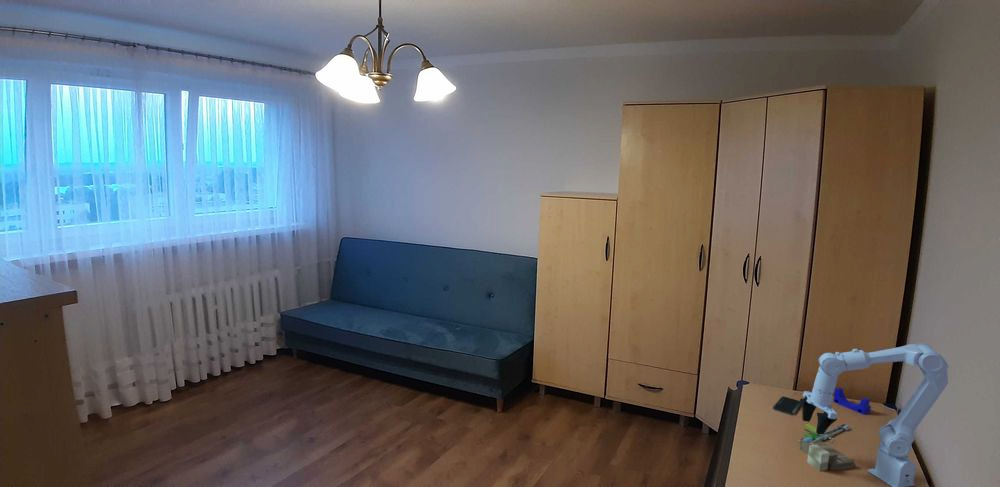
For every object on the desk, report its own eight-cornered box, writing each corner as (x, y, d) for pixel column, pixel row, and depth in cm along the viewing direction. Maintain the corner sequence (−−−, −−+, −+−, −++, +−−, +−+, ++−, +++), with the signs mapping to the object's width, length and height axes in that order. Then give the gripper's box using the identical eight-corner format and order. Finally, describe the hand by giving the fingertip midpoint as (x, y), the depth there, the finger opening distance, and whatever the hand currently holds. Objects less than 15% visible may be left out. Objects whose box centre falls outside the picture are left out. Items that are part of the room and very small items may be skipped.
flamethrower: (784, 437, 189) (813, 452, 180) (786, 431, 188) (814, 445, 180) (827, 420, 204) (855, 433, 196) (828, 414, 204) (856, 427, 195)
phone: (803, 402, 217) (793, 414, 206) (802, 404, 217) (793, 416, 206) (782, 395, 222) (772, 407, 211) (782, 398, 222) (771, 409, 211)
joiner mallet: (841, 468, 171) (843, 451, 170) (819, 470, 169) (821, 453, 168) (828, 459, 176) (830, 443, 175) (807, 462, 174) (809, 445, 173)
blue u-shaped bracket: (870, 413, 211) (872, 399, 210) (863, 415, 209) (865, 400, 208) (839, 400, 222) (841, 386, 221) (833, 402, 220) (835, 388, 219)
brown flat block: (853, 467, 171) (854, 461, 171) (831, 470, 169) (831, 464, 169) (821, 446, 184) (822, 440, 184) (799, 448, 182) (800, 442, 182)
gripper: (798, 377, 177) (788, 414, 180) (825, 399, 163) (814, 438, 166) (818, 380, 178) (808, 416, 181) (847, 401, 164) (835, 440, 166)
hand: (812, 427), depth 173 cm, fingers open, 7 cm apart
